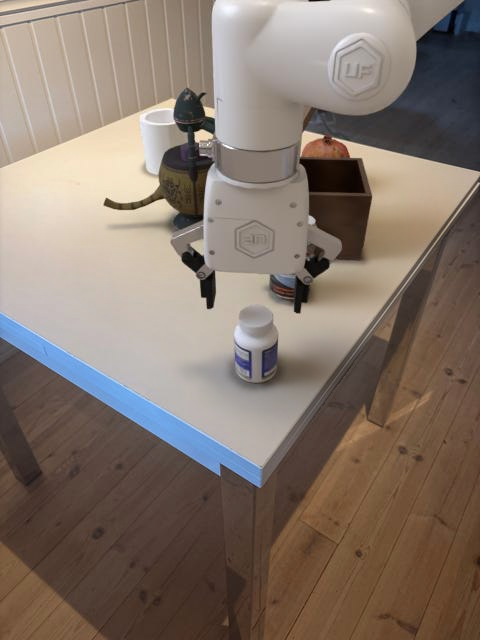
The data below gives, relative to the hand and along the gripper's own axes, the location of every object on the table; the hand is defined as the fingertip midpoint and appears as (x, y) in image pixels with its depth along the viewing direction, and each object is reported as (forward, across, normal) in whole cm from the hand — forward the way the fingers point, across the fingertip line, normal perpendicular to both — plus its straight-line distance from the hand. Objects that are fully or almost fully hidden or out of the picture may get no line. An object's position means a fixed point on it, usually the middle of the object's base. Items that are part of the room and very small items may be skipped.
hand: (254, 303), depth 55 cm
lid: (-8, +4, +32) cm, 33 cm away
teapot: (+11, -16, +35) cm, 40 cm away
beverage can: (+11, +5, +16) cm, 20 cm away
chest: (+10, +8, +32) cm, 35 cm away
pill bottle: (+11, 0, 0) cm, 11 cm away
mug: (+11, -22, +61) cm, 66 cm away
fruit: (+11, +12, +52) cm, 54 cm away
